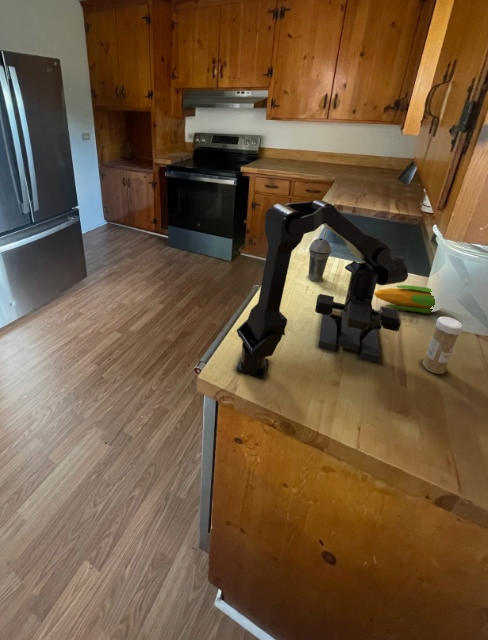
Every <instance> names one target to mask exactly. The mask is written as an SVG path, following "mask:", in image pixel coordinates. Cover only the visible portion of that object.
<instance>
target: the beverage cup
mask: <svg viewBox="0 0 488 640" xmlns="http://www.w3.org/2000/svg"><path fill="white" fill-rule="evenodd" d="M327 231H328V228H327V227H326V226H325V229H324V233H323V236H322V238H316V239H314V240H313V241H312V242H311V243H310V245H309V247H308V251H309V253H308V254H309V259H308V260H309V261H308V279H309V280H310V281H311V282H321V281H322V279H323V276H324V273H325V270H326V266H327V263H328V259H329V258H330V255H331V252H332V247H331V244H330V242H329V241H328V240H327V239H325V238H326V234H327Z"/></svg>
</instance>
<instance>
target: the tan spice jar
mask: <svg viewBox="0 0 488 640" xmlns="http://www.w3.org/2000/svg"><path fill="white" fill-rule="evenodd" d="M462 331H463V324H462V323H461V322H460V321H458V320H457V319H455V318H452V317H449V316H439V317H438V318H437V320H436V323H435V328H434V331H433V333H432V336H431V338H430V342H429V344H428V347H427V350H426V354H425V357H424V360H423V361H422V365H423V367H424V368H425V369H426V370H427V371H429V372H430V373H434V374H436V375H443V374H445V372H446V368H447V366H448V363H449V362H450V359H451V355H452V353H453V351H454V348H455V345H456V342H457V339H458V337H459V335H460V334H461V333H462Z"/></svg>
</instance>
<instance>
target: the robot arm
mask: <svg viewBox="0 0 488 640" xmlns="http://www.w3.org/2000/svg"><path fill="white" fill-rule="evenodd" d="M321 226H324V227H325V228H326V227H327V230H330V231H331V232H332V233H333V234H334V235H336V236H337V237H339V239H341V240H342V241H344V243H345V245H346V248H347V249H348V250H349V252H350V253H351V254H352V255H353V256H354V257H356V258H357V259H360V260H361V262H358V261H355V260H353V261H351V262H350V263H348V264H346V265H345V266H344V269H345V270H346V271H348V272H350V277H349V282H348V286H347V290H346V293H345V294H346V295H345V300H344V303H341V302H335V301H334V300H335V299H334V298H335V296H332V295H328V294H323V293H319V294H318V295H317V296H316V303H315V308H314V312H315V313H316V314H320V315H322V314H324V315H329V317H330V318H332V319H334V320H335V323H336V326H337V331H338V335H337V337H338V338H339V337H340V335H341V327H342V312H345V313H346V321H345V324H346V325H347V326H348V327H351V328H352V327H353V328H357V329H361V332H360V335H359V340H360V342H361V341H362V340H363V339H364V338H365V337H366V336H367V334H368V333H369V332H371V331H372V330H374V329H377V331H378V330H379V331H380V330H381V329H384V330H387V331H388V330H389V331H393V332H399V331H400V328H401V322H402V321H401V317H400V313H399V312H398V309H395V308H391V307H384V306H380V307H379V309H374V308H373V305H372V303H373V299H374V296H375V294H374V293H375V292H376V291H375V290H376V287H377V285H378V286H389V285H395V284H401V283H404V282H406V281H407V280H408V278H409V272H408V271H409V270H408V268H407V266H406V264H405V263H404V262H405V258H404V257H401V256H400V255H393V256H392V254H391V251H392V248H391V246H390V245H389V244H388V243H385V242H384V241H381V240H379V239H378V238H375V237H374V236H371V235H369V234H367V233H365V232H364V231H363V230H362V229H360V227H358V226H357V225H356V224H355V223H353V222H352V221H351V220H350V219H349V218H348V217H346V216H345V215H344V214H343V213H342V212H341V211H339V210H338V209H337V207H335V204H334V205H333V203H330V202H327V201H326V200H325V201H324V200H322V199H314V200H309V201H300V202H289V203H281V202H280V203H276V204H274V205H272V206H271V207H270V208H268V209H267V211H266V213H265V216H264V233H265V237H266V240H267V252H266V258H265V263H264V268H263V273H262V278H261V279H262V280H261V284H260V291H259V295H258V301H257V303H256V304H255V305H254V306H253V307H252V308H251V309H250V312H249V315H248V318H247V319H246V320H245V321H244V322H243V323H242V324H241V325H240V326H239V327H238V328H237V329H236V333H237V336H238V337H239V339H240V340H241V341H242V344H241V354H240V355H241V356H240V358H239V360H238V363H237V365H236V368H235V370H236V372H240V373H242V374H245V375H248V376H251V377H255V378H258V379H264V377H265V374H266V371H267V368H268V364H269V359H268V358H269V357H272V356H273V355H274V352H275V351H276V349H277V347H278V345H279V343H281V340H282V338H283V336H285V335H286V327H287V324H288V319H287V318H286V316H285V315H284V314H283V313H282V312H281V310H280V309H281V304H282V299H283V295H284V291H285V285H286V281H287V276H288V273H289V272H288V271H289V266H290V263H291V257H292V253H293V251H294V250H295V249H296V248H297V247H298V246H299V245H300V244H301V243H302V240H303V238H304V235H305V234H308V233H312V232H315V231H316V230H317V229H319V228H320V227H321ZM362 261H363V262H362Z"/></svg>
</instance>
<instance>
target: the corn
mask: <svg viewBox="0 0 488 640" xmlns="http://www.w3.org/2000/svg"><path fill="white" fill-rule="evenodd" d="M395 286H396V288H392V287H391V288H383V289H378V290H377V291H374V296H375V297H376V298H377V299H379V300H381V301H384V302H386V303H389V304H386V305H385V306H386V307H387V308H390V309H394V310H400V311H406V312H413V313H421V314H431V313H430V312H431V311H432V310H433V309H430V308H431V307H432V306H433V307H434V305H435V299H434V296H432V295H431V293H430V292H432V291H431V289H432V288H429V287H424V286H419V285H408V284H402V285H401V284H400V285H395Z"/></svg>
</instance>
